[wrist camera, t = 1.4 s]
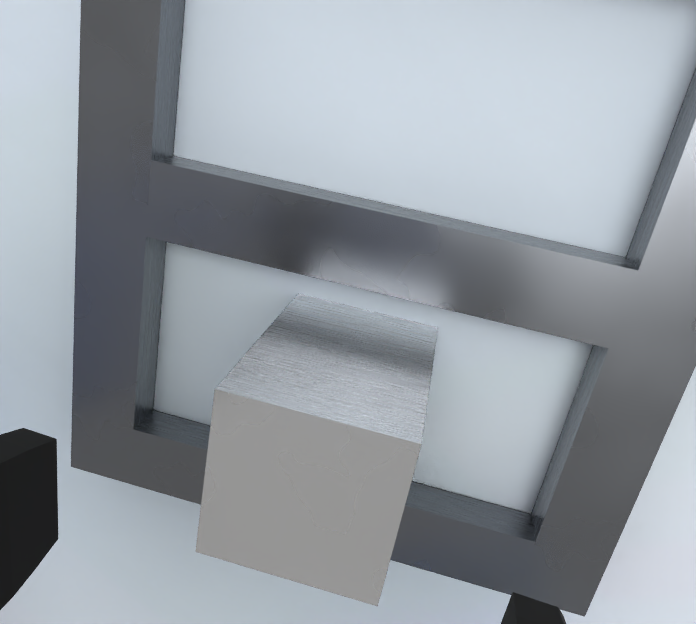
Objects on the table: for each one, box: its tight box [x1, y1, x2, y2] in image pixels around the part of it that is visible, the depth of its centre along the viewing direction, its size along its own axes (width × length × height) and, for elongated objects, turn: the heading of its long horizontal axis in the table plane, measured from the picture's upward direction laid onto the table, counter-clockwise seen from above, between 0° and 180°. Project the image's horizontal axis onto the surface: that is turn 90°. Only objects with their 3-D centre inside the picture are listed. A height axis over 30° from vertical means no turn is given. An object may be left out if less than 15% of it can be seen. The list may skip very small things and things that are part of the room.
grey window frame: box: [71, 0, 696, 616], centre depth 14 cm, size 26×16×1 cm, turn 169°
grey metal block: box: [196, 293, 438, 606], centre depth 15 cm, size 4×4×6 cm
